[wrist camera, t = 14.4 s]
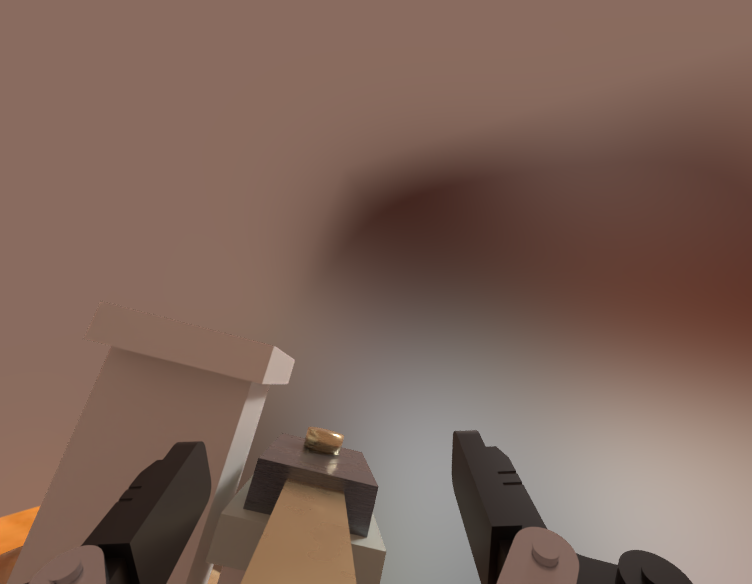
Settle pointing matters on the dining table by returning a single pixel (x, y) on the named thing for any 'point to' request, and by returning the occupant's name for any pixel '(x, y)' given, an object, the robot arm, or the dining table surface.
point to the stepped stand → (170, 442)
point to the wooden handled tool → (309, 509)
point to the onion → (8, 564)
